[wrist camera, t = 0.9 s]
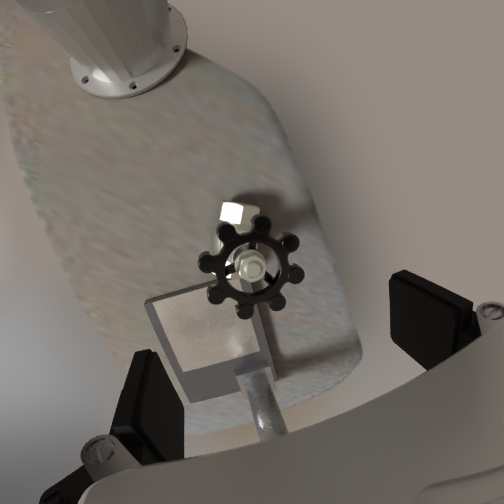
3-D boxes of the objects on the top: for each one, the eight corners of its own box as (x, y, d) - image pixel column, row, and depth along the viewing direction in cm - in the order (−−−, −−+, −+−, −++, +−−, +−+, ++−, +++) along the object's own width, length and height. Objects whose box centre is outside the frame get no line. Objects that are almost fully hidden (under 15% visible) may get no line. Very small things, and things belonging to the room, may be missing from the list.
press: (145, 300, 29) (84, 496, 7) (246, 270, 30) (346, 450, 8) (193, 402, 33) (207, 567, 11) (276, 379, 34) (347, 535, 12)
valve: (269, 207, 29) (316, 225, 17) (257, 270, 30) (292, 324, 19) (203, 196, 28) (207, 206, 16) (193, 262, 29) (191, 314, 17)
